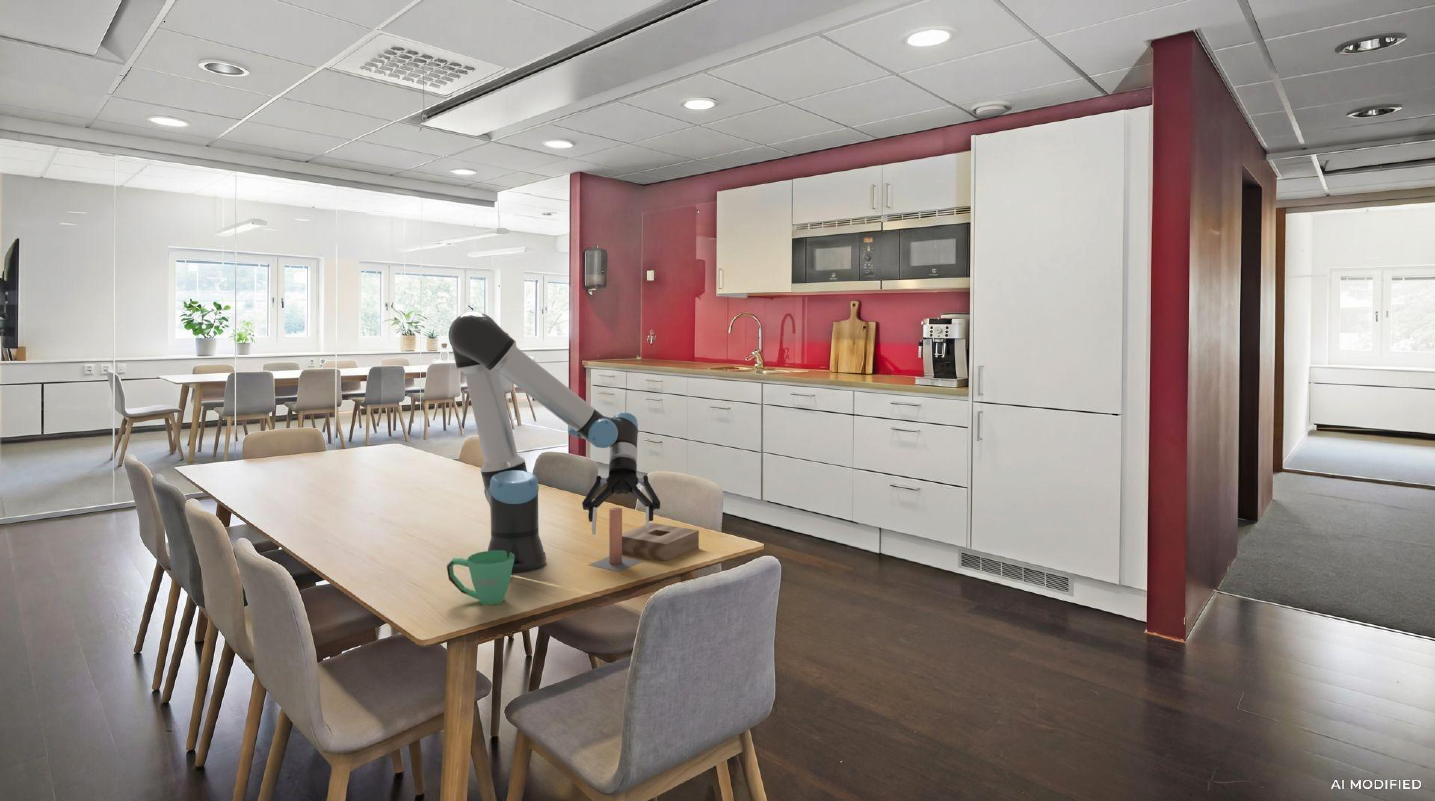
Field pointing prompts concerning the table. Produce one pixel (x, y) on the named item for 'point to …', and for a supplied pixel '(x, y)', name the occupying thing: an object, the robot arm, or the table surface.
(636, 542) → the hole block
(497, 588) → the mug
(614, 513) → the peg
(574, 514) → the table surface
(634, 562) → the mat
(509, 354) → the robot arm
